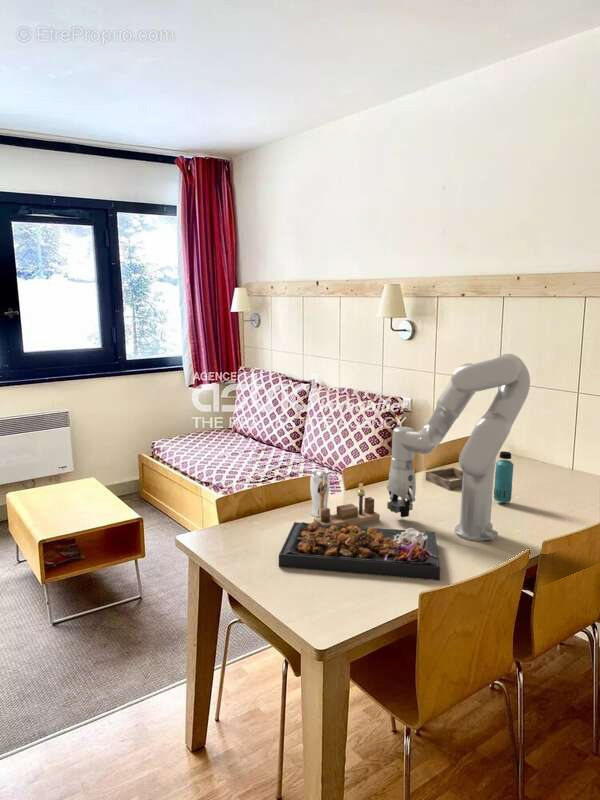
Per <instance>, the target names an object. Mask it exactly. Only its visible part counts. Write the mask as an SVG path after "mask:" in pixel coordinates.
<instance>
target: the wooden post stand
mask: <svg viewBox="0 0 600 800" xmlns="http://www.w3.org/2000/svg"><path fill="white" fill-rule="evenodd" d="M358 497H359V498H358V506H357V505H355V504H353V503H347V504H343V505H337V506H336V513H335V514H331V509H330V508H329V507H327V508H322V509H321V517H315V518H313V522H316V523H317V524H326V525H340V526H341V525H343V524H346V523H347V524H349V525H350V526H351V525H355V526H357V527H362V526H364V525H369V524H370V525H371V524H375V523H379V522H380V517H381V516H380V514H379V513H378V512H375V499H374V498H373V497H371V496H370V497H369V496H368V497H364V496H358ZM363 500H364V502H363ZM363 503H364V506H363Z"/></svg>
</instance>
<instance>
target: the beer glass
mask: <svg viewBox="0 0 600 800" xmlns="http://www.w3.org/2000/svg"><path fill="white" fill-rule="evenodd" d="M330 479H331V477H330V472H328V471H325V470H315V471H314V470H313V471H311V473H310V479H309V487H310V488H309V490H310V496H311V497H310V498H311V502H312V505H311V506H312V507H311V510H310V511H311V512H310V515H311V516H313V517H315V518H319V517H321V509H322V508H328V501H329V496H330V495H329V494H330V489H331V488H330V487H331V486H330V485H331V481H330Z"/></svg>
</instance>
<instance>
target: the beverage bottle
mask: <svg viewBox="0 0 600 800" xmlns="http://www.w3.org/2000/svg"><path fill="white" fill-rule="evenodd" d="M510 459H512V452H510V451H506V450H504V451H499V460H498V461H496V462H495V471H494V482H493V499H494V501H497V502H499V503H510V502H511V500H512V493H513V492H512V490H513V475H514V465H515V464H514V463H513V462H512V461H511V460H510Z"/></svg>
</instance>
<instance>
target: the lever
mask: <svg viewBox="0 0 600 800" xmlns="http://www.w3.org/2000/svg"><path fill="white" fill-rule="evenodd" d="M365 495H366V493H365V490H364V483H363V482H361V483H360V482H359V483H358V490H357V496H358V497H359V496H363V497H365Z"/></svg>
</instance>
